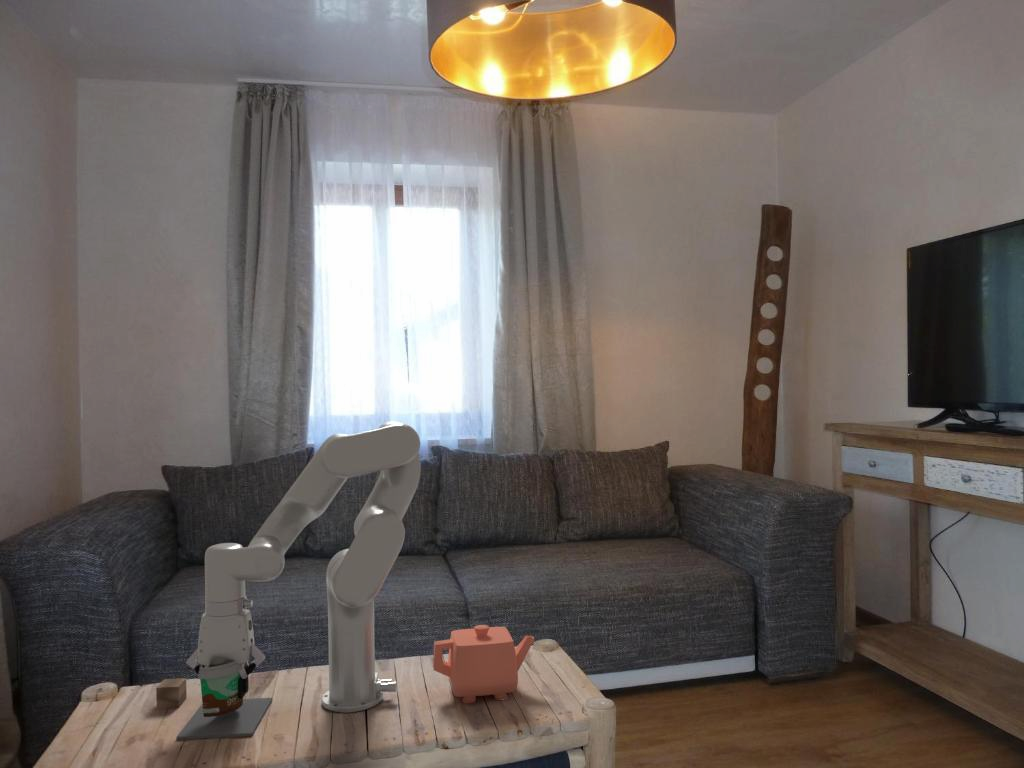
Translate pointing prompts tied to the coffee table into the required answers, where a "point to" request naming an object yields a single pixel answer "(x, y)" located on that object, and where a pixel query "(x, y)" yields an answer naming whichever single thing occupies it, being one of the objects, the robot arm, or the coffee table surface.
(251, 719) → the mat
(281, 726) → the coffee table surface
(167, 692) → the walnut block
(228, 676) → the food container
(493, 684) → the teapot
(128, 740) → the coffee table surface
